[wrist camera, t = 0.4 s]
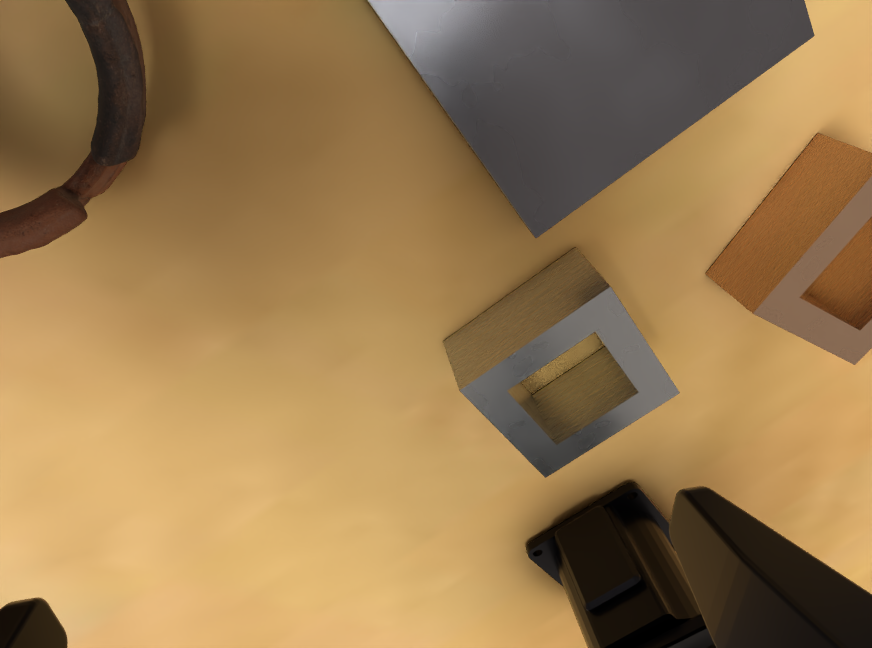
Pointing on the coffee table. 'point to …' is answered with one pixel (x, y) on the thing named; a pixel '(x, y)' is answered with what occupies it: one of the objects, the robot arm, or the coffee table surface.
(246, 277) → the coffee table surface
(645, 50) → the keeper
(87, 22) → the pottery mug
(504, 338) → the grey square frame
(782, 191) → the brown hollow square block
